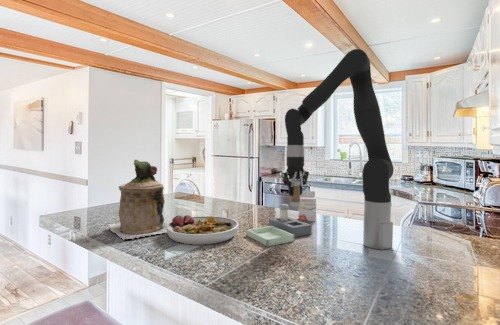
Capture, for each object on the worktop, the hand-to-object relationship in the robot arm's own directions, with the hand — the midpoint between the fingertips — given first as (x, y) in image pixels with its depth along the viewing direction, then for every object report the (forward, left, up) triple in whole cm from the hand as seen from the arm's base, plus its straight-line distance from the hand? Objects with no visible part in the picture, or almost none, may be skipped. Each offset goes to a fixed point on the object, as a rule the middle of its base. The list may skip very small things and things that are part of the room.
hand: (295, 195), depth 129 cm
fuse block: (+4, 0, -17) cm, 17 cm away
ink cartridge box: (+15, -20, -17) cm, 30 cm away
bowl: (+17, +36, -17) cm, 43 cm away
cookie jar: (+38, +57, -17) cm, 70 cm away
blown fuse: (0, 0, -5) cm, 5 cm away
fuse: (+8, 0, -17) cm, 19 cm away
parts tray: (-1, +14, -17) cm, 22 cm away
